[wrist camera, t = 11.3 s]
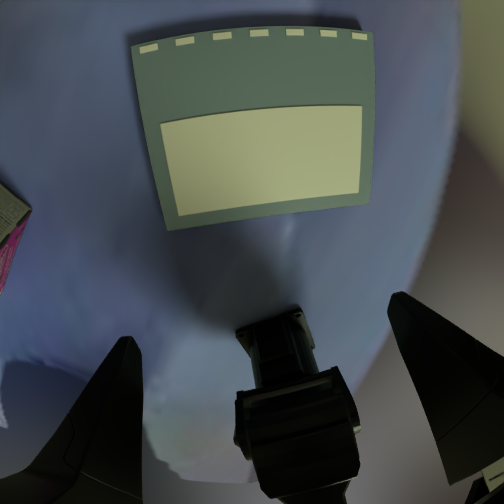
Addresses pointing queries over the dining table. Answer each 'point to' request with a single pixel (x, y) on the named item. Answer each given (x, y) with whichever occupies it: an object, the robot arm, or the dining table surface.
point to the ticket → (257, 121)
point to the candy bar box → (10, 228)
